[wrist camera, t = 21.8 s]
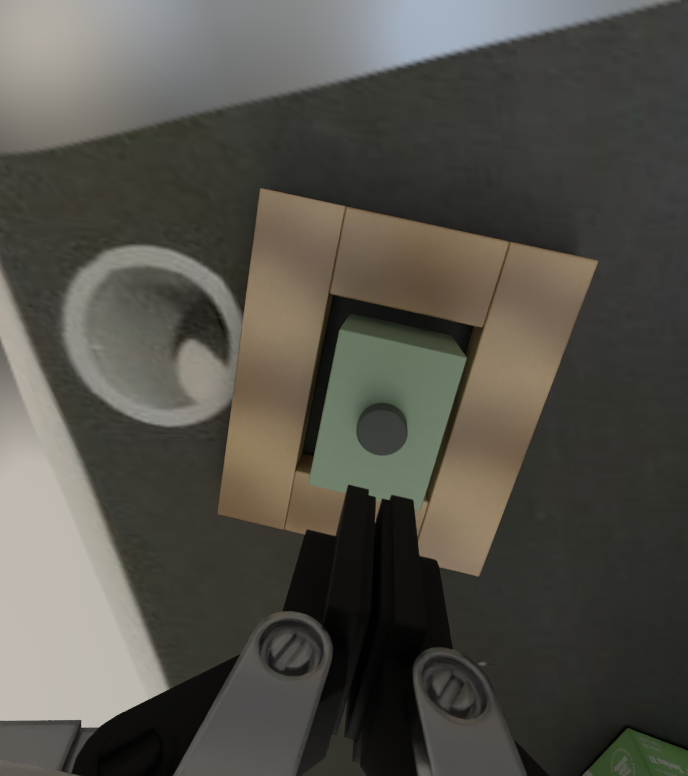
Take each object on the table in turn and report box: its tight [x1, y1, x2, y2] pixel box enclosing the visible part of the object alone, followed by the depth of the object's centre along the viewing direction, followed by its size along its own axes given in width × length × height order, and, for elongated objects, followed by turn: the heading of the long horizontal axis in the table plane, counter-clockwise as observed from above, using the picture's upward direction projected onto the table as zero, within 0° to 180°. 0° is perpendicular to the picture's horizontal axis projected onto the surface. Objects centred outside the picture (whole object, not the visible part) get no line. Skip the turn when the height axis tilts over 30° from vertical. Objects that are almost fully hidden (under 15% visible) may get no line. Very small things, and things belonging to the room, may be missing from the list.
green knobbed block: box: [308, 313, 467, 511], centre depth 20 cm, size 7×5×5 cm
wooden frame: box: [218, 188, 598, 576], centre depth 21 cm, size 16×14×2 cm
